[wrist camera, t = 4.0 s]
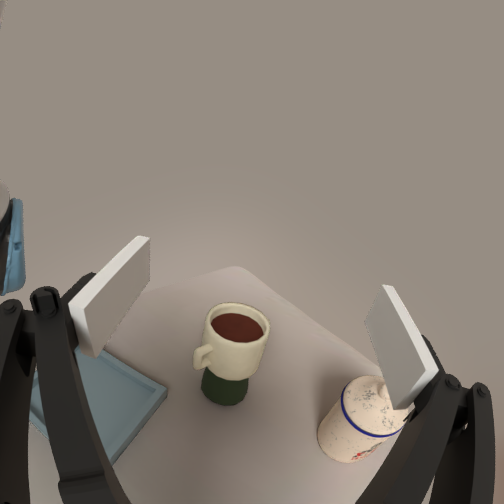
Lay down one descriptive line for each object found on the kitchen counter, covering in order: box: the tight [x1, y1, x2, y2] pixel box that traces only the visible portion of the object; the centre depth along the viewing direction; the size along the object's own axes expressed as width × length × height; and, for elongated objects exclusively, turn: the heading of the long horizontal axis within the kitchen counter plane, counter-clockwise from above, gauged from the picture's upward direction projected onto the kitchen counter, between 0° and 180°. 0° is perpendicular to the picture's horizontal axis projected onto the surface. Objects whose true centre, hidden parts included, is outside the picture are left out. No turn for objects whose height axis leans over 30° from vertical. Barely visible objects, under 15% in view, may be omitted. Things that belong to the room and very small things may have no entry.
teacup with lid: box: [317, 375, 408, 463], centre depth 29 cm, size 12×9×12 cm
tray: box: [29, 345, 167, 466], centre depth 27 cm, size 16×16×2 cm
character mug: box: [193, 302, 270, 405], centre depth 32 cm, size 11×7×13 cm, turn 132°
